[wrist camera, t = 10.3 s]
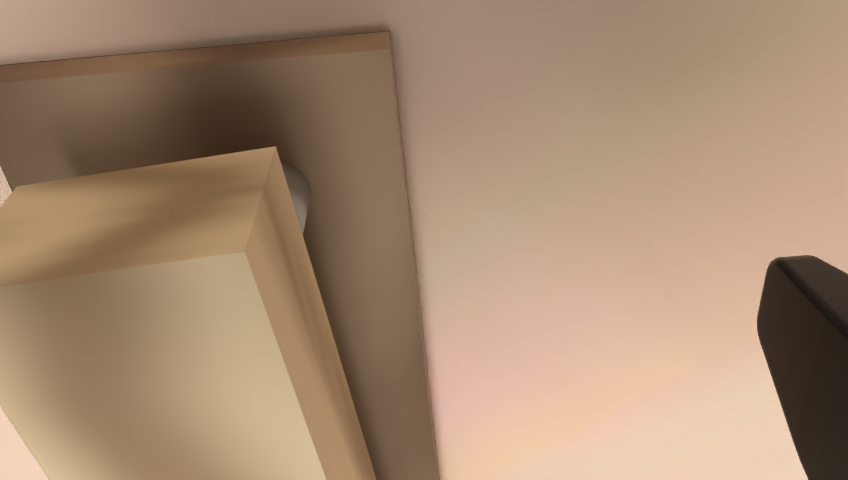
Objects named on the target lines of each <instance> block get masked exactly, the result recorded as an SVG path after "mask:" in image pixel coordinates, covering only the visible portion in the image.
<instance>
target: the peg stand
mask: <svg viewBox="0 0 848 480" xmlns="http://www.w3.org/2000/svg"><path fill="white" fill-rule="evenodd" d="M275 146H276V149H277V152H278V155H279V158H280V162H281V165H282V168H283V172H284V175H285V178H286V182H287V185H288V188H289V192H290V195H291V198H292V202H293V205H294V208H295V211H296V215H297V218H298V221H299V225H300V228H301V231H302V235H303V238H304V241H305V245H306V248H307V251H308V255H309V258H310V261H311V264H312V268H313V271H314V274H315V278H316V281H317V284H318V288H319V291H320V294H321V298H322V301H323V304H324V308H325V311H326V314H327V317H328V321H329V324H330V327H331V331H332V334H333V337H334V341H335V344H336V347H337V351H338V354H339V357H340V361H341V364H342V367H343V370H344V374H345V377H346V380H347V384H348V387H349V390H350V394H351V397H352V400H353V404H354V407H355V410H356V414H357V417H358V420H359V423H360V427H361V430H362V433H363V437H364V440H365V443H366V447H367V450H368V453H369V457H370V460H371V463H372V467H373V470H374V473H375V476H376V480H440V478H439V469H438V460H437V451H436V442H435V433H434V424H433V415H432V406H431V397H430V388H429V379H428V370H427V362H426V353H425V344H424V335H423V326H422V317H421V308H420V299H419V290H418V281H417V272H416V263H415V254H414V245H413V236H412V227H411V218H410V209H409V200H408V191H407V182H406V173H405V165H404V156H403V147H402V138H401V129H400V120H399V111H398V102H397V93H396V84H395V75H394V66H393V57H392V48H391V39H390V31H386V32H374V33H363V34H352V35H340V36H329V37H318V38H306V39H295V40H283V41H272V42H261V43H249V44H238V45H227V46H215V47H204V48H192V49H181V50H170V51H158V52H147V53H136V54H124V55H113V56H101V57H90V58H79V59H67V60H56V61H45V62H33V63H22V64H10V65H0V166H1V168H2V170H3V172H4V175H5V177H6V179H7V181H8V184H9V186H10V188H11V190H12V192H13V191H14V190H15V188H16V187H17V186H23V185H29V184H35V183H42V182H48V181H55V180H61V179H68V178H74V177H81V176H87V175H94V174H100V173H107V172H113V171H119V170H126V169H132V168H139V167H145V166H152V165H158V164H165V163H171V162H178V161H184V160H191V159H197V158H204V157H210V156H216V155H223V154H229V153H236V152H242V151H249V150H255V149H262V148H268V147H275Z"/></svg>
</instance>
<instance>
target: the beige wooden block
mask: <svg viewBox="0 0 848 480" xmlns="http://www.w3.org/2000/svg"><path fill="white" fill-rule="evenodd" d="M0 407H1V408H2V410H3V411H4V413H5V414H6V416H7V417H8V419H9V420H10V422H11V423H12V425H13V426H14V428H15V429H16V431H17V432H18V434H19V435H20V437H21V438H22V440H23V441H24V443H25V444H26V446H27V447H28V449H29V450H30V452H31V453H32V455H33V456H34V458H35V459H36V461H37V462H38V464H39V465H40V467H41V468H42V470H43V471H44V473H45V474H46V476H47V477H48V479H49V480H376V476H375V473H374V470H373V467H372V463H371V460H370V457H369V453H368V450H367V447H366V443H365V440H364V437H363V433H362V430H361V427H360V423H359V420H358V417H357V414H356V410H355V407H354V404H353V400H352V397H351V394H350V390H349V387H348V384H347V380H346V377H345V374H344V370H343V367H342V364H341V361H340V357H339V354H338V351H337V347H336V344H335V341H334V337H333V334H332V331H331V327H330V324H329V321H328V317H327V314H326V311H325V308H324V304H323V301H322V298H321V294H320V291H319V288H318V284H317V281H316V278H315V274H314V271H313V268H312V264H311V261H310V258H309V255H308V251H307V248H306V245H305V241H304V238H303V235H302V231H301V228H300V225H299V221H298V218H297V215H296V211H295V208H294V205H293V202H292V198H291V195H290V192H289V188H288V185H287V182H286V178H285V175H284V172H283V168H282V165H281V162H280V158H279V155H278V152H277V149H276V146H275V147H268V148H262V149H255V150H249V151H242V152H236V153H229V154H223V155H216V156H210V157H204V158H197V159H191V160H184V161H178V162H171V163H165V164H158V165H152V166H145V167H139V168H132V169H126V170H119V171H113V172H107V173H100V174H94V175H87V176H81V177H74V178H68V179H61V180H55V181H48V182H42V183H35V184H29V185H23V186H17V187H16V188H15V190H14V191H13V192H12V193H11V195H10V196H9V197H8V198H7V200H6V201H5V202H4V203H3V204H2V206H1V207H0Z"/></svg>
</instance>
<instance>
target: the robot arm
mask: <svg viewBox="0 0 848 480" xmlns="http://www.w3.org/2000/svg"><path fill="white" fill-rule="evenodd" d="M757 331H758V336H759V340H760V343H761V346H762V349H763V352H764V355H765V358H766V361H767V364H768V367H769V370H770V373H771V376H772V379H773V382H774V385H775V388H776V391H777V394H778V397H779V400H780V403H781V406H782V409H783V412H784V415H785V418H786V421H787V424H788V427H789V430H790V433H791V436H792V439H793V442H794V445H795V448H796V451H797V453H798V456H799V459H800V461H801V464H802V466H803V468H804V471H805V473H806V475H807V477H808V480H848V274H847V273H845V272H843V271H841V270H839V269H838V268H836V267H834V266H832V265H830V264H828V263H826V262H824V261H823V260H821V259H819V258H817V257H814V256H810V255H803V256H791V257H778V258H776V259H774V260H773V261H771V262H770V264H769V266H768V268H767V272H766V277H765V281H764V286H763V291H762V296H761V301H760V306H759V311H758V316H757Z"/></svg>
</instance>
